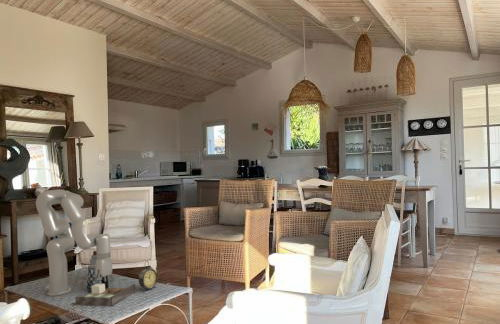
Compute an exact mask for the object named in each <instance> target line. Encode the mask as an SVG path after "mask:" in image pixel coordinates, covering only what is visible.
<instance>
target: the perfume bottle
mask: <svg viewBox="0 0 500 324" xmlns="http://www.w3.org/2000/svg"><path fill="white" fill-rule="evenodd" d="M90 257H91V258H90V259H89V267H90V266H91V265H96V260H97V252H96V250H93V251H92V254H91V255H90Z"/></svg>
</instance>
